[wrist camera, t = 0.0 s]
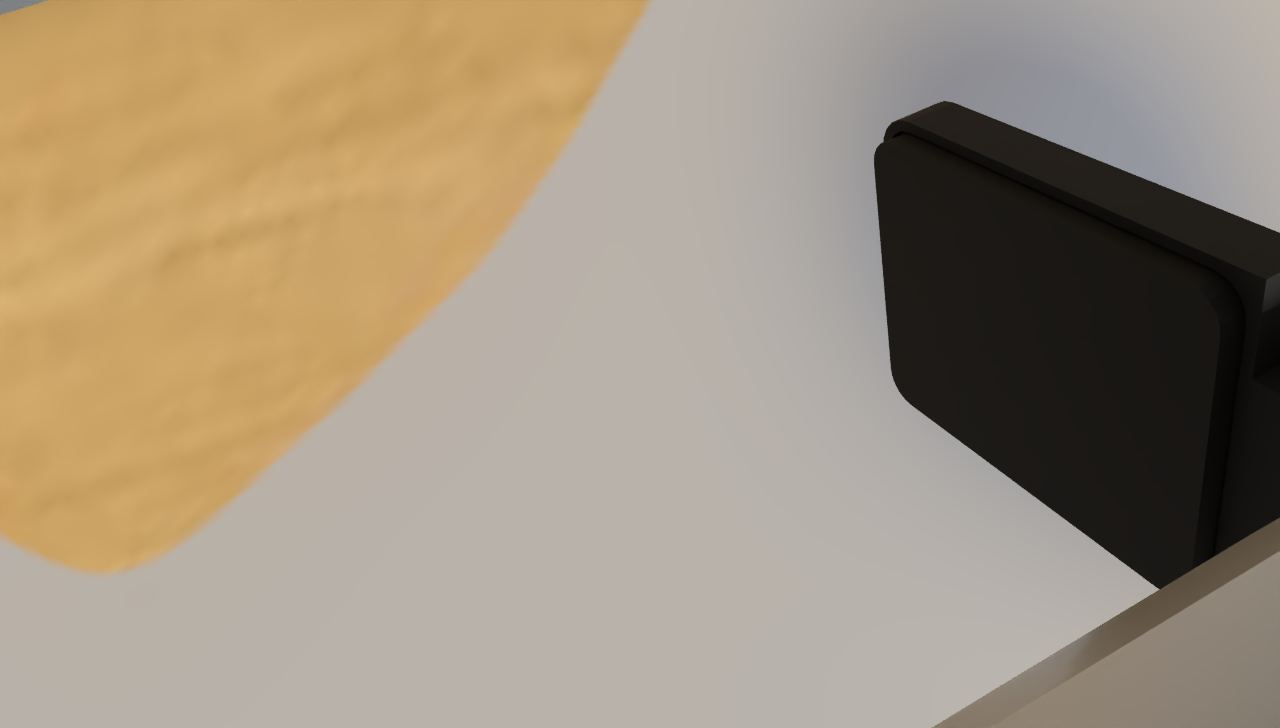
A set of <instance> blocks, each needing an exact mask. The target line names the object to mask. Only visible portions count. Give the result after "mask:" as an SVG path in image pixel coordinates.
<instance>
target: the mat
mask: <svg viewBox="0 0 1280 728" xmlns="http://www.w3.org/2000/svg"><path fill="white" fill-rule="evenodd" d="M43 1H47V0H0V15H1V14H5V13H8V12H11V11H14V10H18V9H21V8H24V7H27V6H30V5H34V4H37V3H40V2H43Z"/></svg>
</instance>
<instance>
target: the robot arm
mask: <svg viewBox="0 0 1280 728" xmlns="http://www.w3.org/2000/svg"><path fill="white" fill-rule="evenodd" d="M874 168H875V180H876V193H877V204H878V216H879V228H880V241H881V253H882V265H883V277H884V289H885V302H886V314H887V325H888V336H889V349H890V362H891V371H892V376H893V379H894V382H895V384H896V386H897V388H898V390H899V392H900V393H901V394H902V396H903V397H904V398H905V400H906V401H908V402H909V403H910V404H911V405H912V406H913V407H915V408H916V409H918V410H919V411H920V412H922V413H923V414H924V415H926V416H927V417H928V418H930V419H931V420H932V421H934V422H935V423H936V424H938V425H939V426H940V427H942V428H943V429H944V430H946V431H947V432H948V433H950V434H951V435H952V436H954V437H955V438H957V439H958V440H959V441H961V442H962V443H963V444H964V445H966V446H967V447H968V448H970V449H971V450H973V451H974V452H975V453H977V454H978V455H979V456H981V457H982V458H983V459H985V460H986V461H987V462H989V463H990V464H991V465H993V466H994V467H996V468H997V469H998V470H999V471H1001V472H1002V473H1004V474H1005V475H1006V476H1007V477H1009V478H1011V479H1012V480H1013V481H1014V482H1016V483H1017V484H1018V485H1020V486H1021V487H1022V488H1024V489H1025V490H1026V491H1028V492H1029V493H1030V494H1032V495H1033V496H1034V497H1036V498H1037V499H1039V500H1040V501H1041V502H1042V503H1044V504H1045V505H1046V506H1048V507H1049V508H1051V509H1052V510H1053V511H1055V512H1056V513H1057V514H1059V515H1060V516H1061V517H1063V518H1064V519H1065V520H1067V521H1068V522H1069V523H1071V524H1072V525H1073V526H1075V527H1076V528H1077V529H1079V530H1080V531H1082V532H1083V533H1084V534H1086V535H1087V536H1088V537H1090V538H1091V539H1092V540H1094V541H1095V542H1096V543H1098V544H1099V545H1100V546H1102V547H1103V548H1104V549H1106V550H1107V551H1108V552H1110V553H1111V554H1112V555H1114V556H1115V557H1116V558H1118V559H1119V560H1120V561H1122V562H1123V563H1125V564H1126V565H1127V566H1129V567H1130V568H1131V569H1133V570H1134V571H1135V572H1137V573H1138V574H1139V575H1141V576H1142V577H1143V578H1145V579H1146V580H1147V581H1149V582H1150V583H1151V584H1153V585H1154V586H1155V587H1157V588H1159V589H1160V590H1158V591H1157V592H1155V593H1153V594H1152V595H1150V596H1148V597H1147V598H1145V599H1144V600H1142V601H1140V602H1138V603H1137V604H1135V605H1134V606H1132V607H1130V608H1129V609H1127V610H1125V611H1124V612H1122V613H1120V614H1119V615H1117V616H1115V617H1114V618H1112V619H1111V620H1109V621H1107V622H1105V623H1104V624H1102V625H1100V626H1099V627H1097V628H1096V629H1094V630H1092V631H1091V632H1089V633H1087V634H1086V635H1084V636H1082V637H1081V638H1079V639H1077V640H1076V641H1074V642H1072V643H1071V644H1069V645H1068V646H1066V647H1064V648H1062V649H1061V650H1059V651H1057V652H1056V653H1054V654H1053V655H1051V656H1050V657H1048V658H1046V659H1044V660H1043V661H1041V662H1039V663H1038V664H1036V665H1034V666H1033V667H1031V668H1030V669H1028V670H1026V671H1024V672H1023V673H1021V674H1020V675H1018V676H1016V677H1014V678H1013V679H1011V680H1010V681H1008V682H1007V683H1005V684H1003V685H1001V686H1000V687H998V688H996V689H995V690H993V691H991V692H990V693H988V694H987V695H985V696H983V697H982V698H980V699H978V700H977V701H975V702H973V703H972V704H970V705H969V706H967V707H965V708H964V709H962V710H960V711H959V712H957V713H956V714H954V715H952V716H950V717H949V718H947V719H946V720H944V721H942V722H941V723H939V724H937V725H936V726H935V727H932V728H1280V233H1279V232H1276V231H1274V230H1271V229H1268V228H1266V227H1264V226H1261V225H1259V224H1256V223H1254V222H1251V221H1249V220H1246V219H1244V218H1241V217H1239V216H1236V215H1234V214H1231V213H1228V212H1226V211H1224V210H1221V209H1218V208H1216V207H1214V206H1211V205H1209V204H1206V203H1203V202H1201V201H1199V200H1196V199H1194V198H1191V197H1188V196H1186V195H1184V194H1181V193H1178V192H1176V191H1173V190H1171V189H1169V188H1166V187H1163V186H1161V185H1158V184H1156V183H1153V182H1151V181H1148V180H1146V179H1143V178H1141V177H1138V176H1136V175H1133V174H1131V173H1128V172H1126V171H1123V170H1121V169H1118V168H1116V167H1113V166H1111V165H1108V164H1106V163H1103V162H1101V161H1098V160H1096V159H1093V158H1091V157H1088V156H1086V155H1083V154H1081V153H1078V152H1076V151H1073V150H1071V149H1068V148H1066V147H1063V146H1061V145H1058V144H1056V143H1053V142H1051V141H1048V140H1046V139H1043V138H1041V137H1038V136H1036V135H1033V134H1031V133H1028V132H1026V131H1023V130H1021V129H1018V128H1016V127H1013V126H1011V125H1008V124H1006V123H1003V122H1001V121H998V120H996V119H993V118H991V117H988V116H986V115H983V114H981V113H978V112H976V111H973V110H970V109H968V108H965V107H963V106H961V105H958V104H955V103H953V102H947V101H943V102H940V103H937V104H934V105H932V106H930V107H928V108H925V109H923V110H920V111H918V112H916V113H913V114H911V115H909V116H906V117H904V118H901V119H899V120H897V121H894V122H892V123H891V124H890V125H889V127H888V128H887V129H886V133H885V136H884V142H883V143H881V144H880V145H879V146H878V147H877V149H876V151H875V155H874Z"/></svg>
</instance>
